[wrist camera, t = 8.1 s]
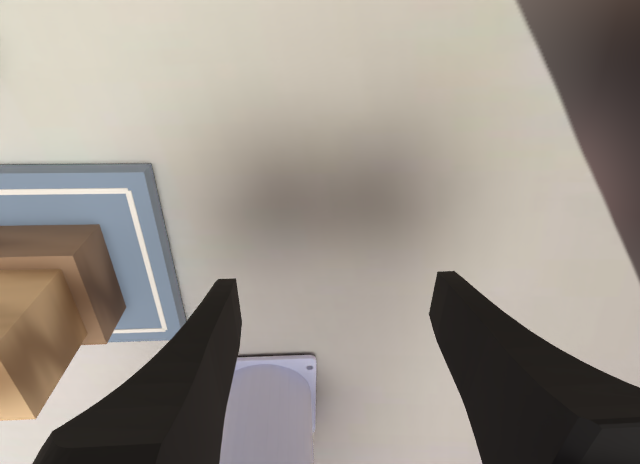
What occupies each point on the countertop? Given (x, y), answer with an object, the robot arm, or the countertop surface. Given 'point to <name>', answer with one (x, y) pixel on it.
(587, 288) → the countertop surface
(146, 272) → the board
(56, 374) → the oak block
